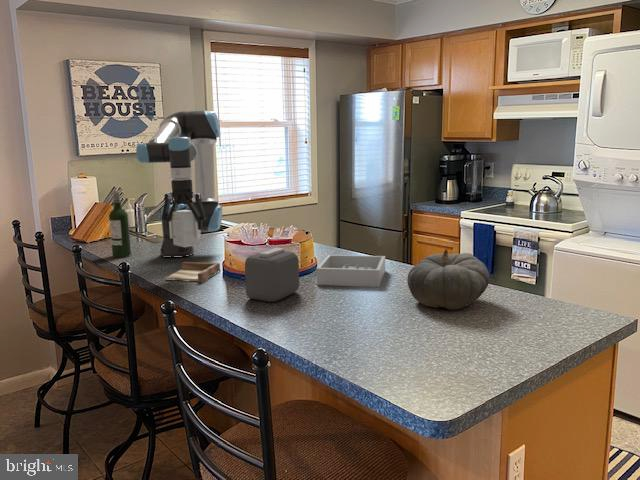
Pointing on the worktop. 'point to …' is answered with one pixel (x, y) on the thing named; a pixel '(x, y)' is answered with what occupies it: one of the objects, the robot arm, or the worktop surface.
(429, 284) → the gourd
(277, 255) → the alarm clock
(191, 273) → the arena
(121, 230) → the wine bottle
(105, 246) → the worktop surface
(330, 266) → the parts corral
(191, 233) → the small box
